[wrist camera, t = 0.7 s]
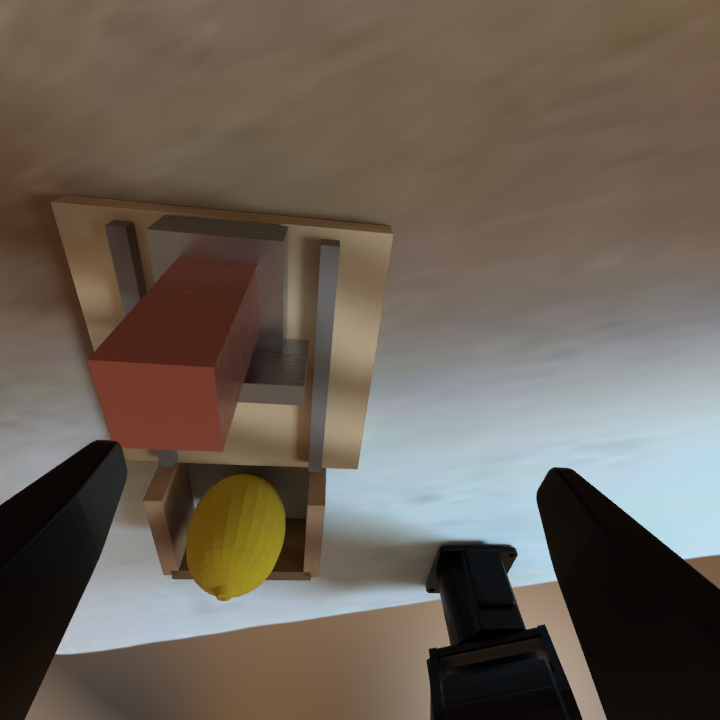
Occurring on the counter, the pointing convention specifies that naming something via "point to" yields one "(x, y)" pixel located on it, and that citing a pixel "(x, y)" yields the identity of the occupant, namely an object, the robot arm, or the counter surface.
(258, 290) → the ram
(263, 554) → the lemon
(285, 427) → the wooden board with rails
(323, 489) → the open wooden crate
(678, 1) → the counter surface
